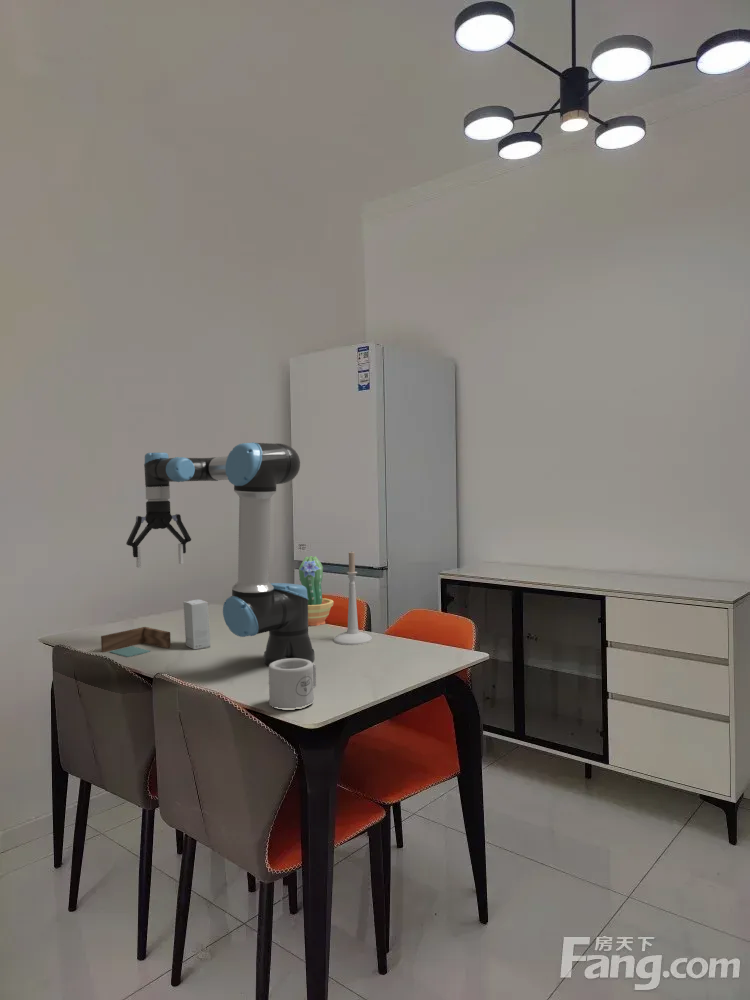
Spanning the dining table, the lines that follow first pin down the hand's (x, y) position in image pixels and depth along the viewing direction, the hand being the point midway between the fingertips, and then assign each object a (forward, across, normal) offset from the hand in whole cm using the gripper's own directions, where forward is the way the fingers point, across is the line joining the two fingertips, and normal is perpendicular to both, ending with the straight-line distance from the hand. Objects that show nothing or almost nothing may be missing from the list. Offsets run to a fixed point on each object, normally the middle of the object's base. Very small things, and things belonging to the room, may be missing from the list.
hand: (160, 565), depth 226 cm
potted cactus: (+27, -56, -3) cm, 63 cm away
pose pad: (+27, +11, +1) cm, 29 cm away
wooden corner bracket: (+26, +8, -1) cm, 28 cm away
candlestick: (+27, -55, +28) cm, 68 cm away
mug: (+28, -13, +74) cm, 80 cm away
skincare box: (+27, -10, +6) cm, 29 cm away
